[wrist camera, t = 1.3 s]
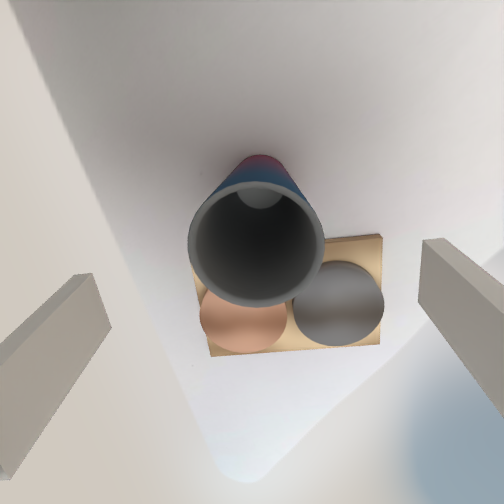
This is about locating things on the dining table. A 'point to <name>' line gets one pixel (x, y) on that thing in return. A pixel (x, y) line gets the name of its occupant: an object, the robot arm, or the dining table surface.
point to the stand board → (306, 307)
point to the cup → (256, 237)
